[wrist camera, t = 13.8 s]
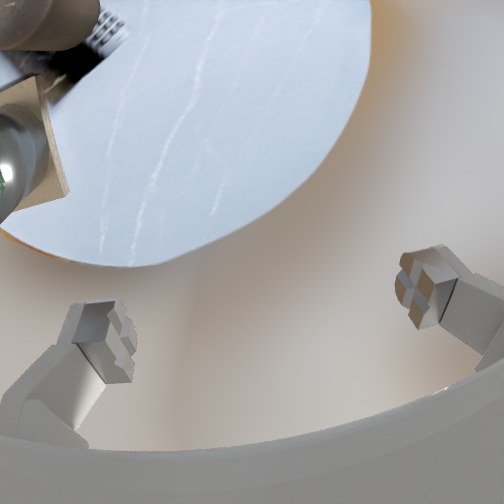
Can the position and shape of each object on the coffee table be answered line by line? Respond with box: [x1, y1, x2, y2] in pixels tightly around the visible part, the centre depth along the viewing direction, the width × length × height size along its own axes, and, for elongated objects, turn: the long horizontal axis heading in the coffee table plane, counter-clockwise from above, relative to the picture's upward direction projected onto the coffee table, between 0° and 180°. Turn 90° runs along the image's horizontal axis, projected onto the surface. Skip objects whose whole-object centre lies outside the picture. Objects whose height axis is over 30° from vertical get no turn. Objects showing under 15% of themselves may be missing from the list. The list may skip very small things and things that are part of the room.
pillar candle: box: [0, 0, 100, 51], centre depth 19 cm, size 10×10×15 cm
